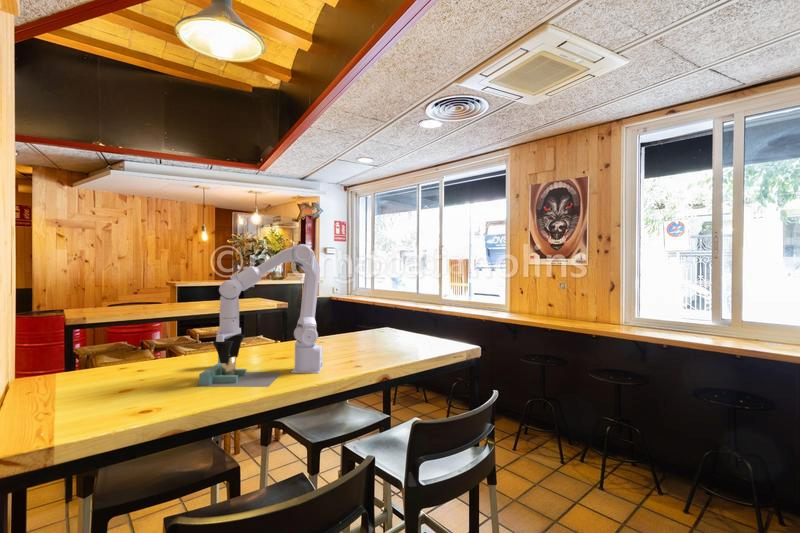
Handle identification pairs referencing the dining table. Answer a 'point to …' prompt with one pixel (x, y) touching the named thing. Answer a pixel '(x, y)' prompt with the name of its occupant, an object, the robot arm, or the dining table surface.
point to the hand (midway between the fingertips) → (229, 360)
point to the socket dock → (219, 376)
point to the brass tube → (229, 366)
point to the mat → (250, 380)
